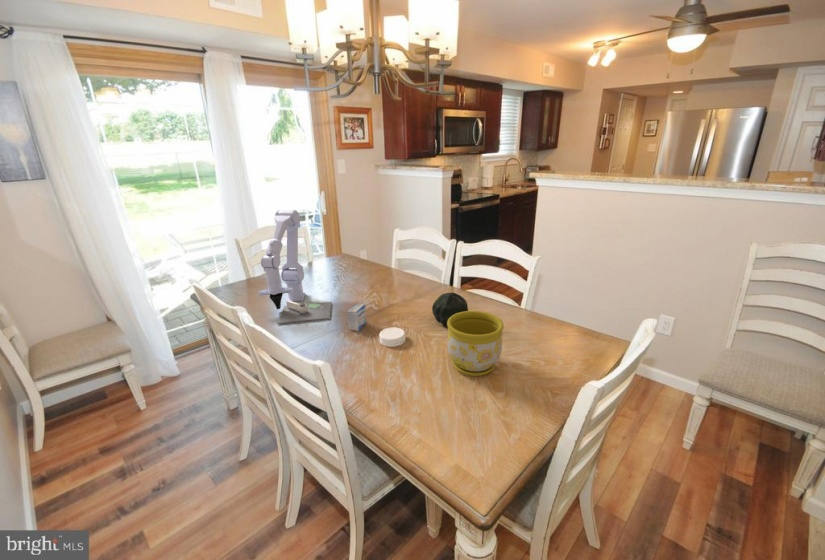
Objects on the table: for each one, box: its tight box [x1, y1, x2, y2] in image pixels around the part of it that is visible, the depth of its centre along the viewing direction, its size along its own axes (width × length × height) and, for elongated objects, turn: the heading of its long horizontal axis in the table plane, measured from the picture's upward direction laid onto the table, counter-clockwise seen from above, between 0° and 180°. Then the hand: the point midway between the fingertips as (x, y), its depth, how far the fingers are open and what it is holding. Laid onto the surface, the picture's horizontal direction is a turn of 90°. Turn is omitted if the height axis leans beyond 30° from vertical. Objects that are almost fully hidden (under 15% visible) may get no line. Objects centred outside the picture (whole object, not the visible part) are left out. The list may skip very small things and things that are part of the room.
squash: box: [431, 292, 469, 325], centre depth 151 cm, size 14×15×15 cm
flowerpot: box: [446, 310, 505, 377], centre depth 120 cm, size 18×18×16 cm
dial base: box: [277, 301, 332, 325], centre depth 165 cm, size 18×22×1 cm
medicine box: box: [346, 303, 367, 332], centre depth 151 cm, size 8×4×9 cm, turn 161°
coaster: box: [378, 326, 406, 348], centre depth 139 cm, size 10×10×4 cm
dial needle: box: [285, 300, 308, 314], centre depth 166 cm, size 13×4×4 cm, turn 55°
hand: (278, 308), depth 167 cm, fingers closed
